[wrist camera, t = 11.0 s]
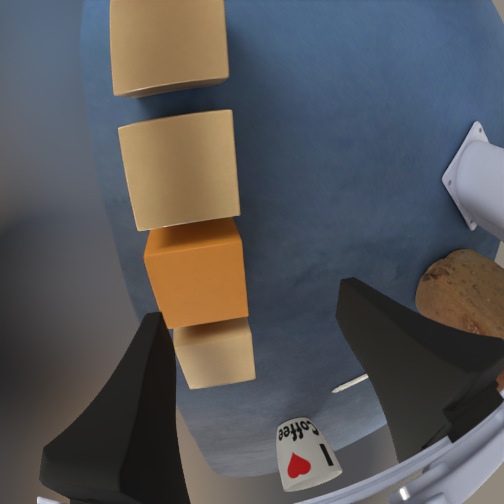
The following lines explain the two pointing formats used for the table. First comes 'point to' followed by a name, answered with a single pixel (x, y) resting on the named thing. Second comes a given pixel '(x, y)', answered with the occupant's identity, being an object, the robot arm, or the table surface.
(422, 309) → the brown speckled rounded part
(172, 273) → the ochre cube
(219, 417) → the table surface
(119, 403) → the robot arm
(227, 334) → the birch cube
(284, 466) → the cup
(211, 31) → the birch cube
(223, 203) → the birch cube
